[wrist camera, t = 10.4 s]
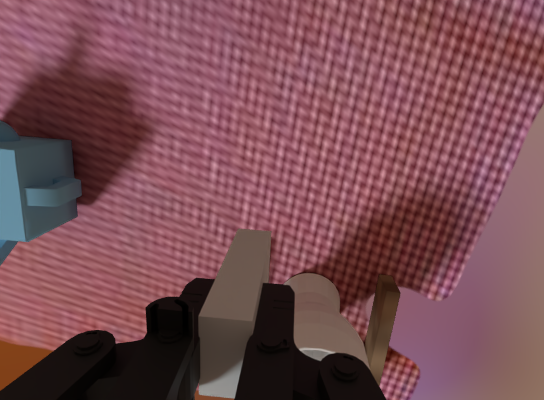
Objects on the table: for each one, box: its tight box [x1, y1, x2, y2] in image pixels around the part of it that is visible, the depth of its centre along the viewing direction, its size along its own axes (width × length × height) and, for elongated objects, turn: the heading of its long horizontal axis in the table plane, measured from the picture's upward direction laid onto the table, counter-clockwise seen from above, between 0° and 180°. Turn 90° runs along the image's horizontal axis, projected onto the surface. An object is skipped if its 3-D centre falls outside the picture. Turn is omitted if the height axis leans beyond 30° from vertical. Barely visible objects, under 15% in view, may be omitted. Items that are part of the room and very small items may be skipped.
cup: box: [284, 273, 370, 369], centre depth 38 cm, size 11×11×15 cm
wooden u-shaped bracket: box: [364, 274, 400, 385], centre depth 43 cm, size 14×19×4 cm
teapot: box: [0, 120, 82, 266], centre depth 38 cm, size 16×18×11 cm
